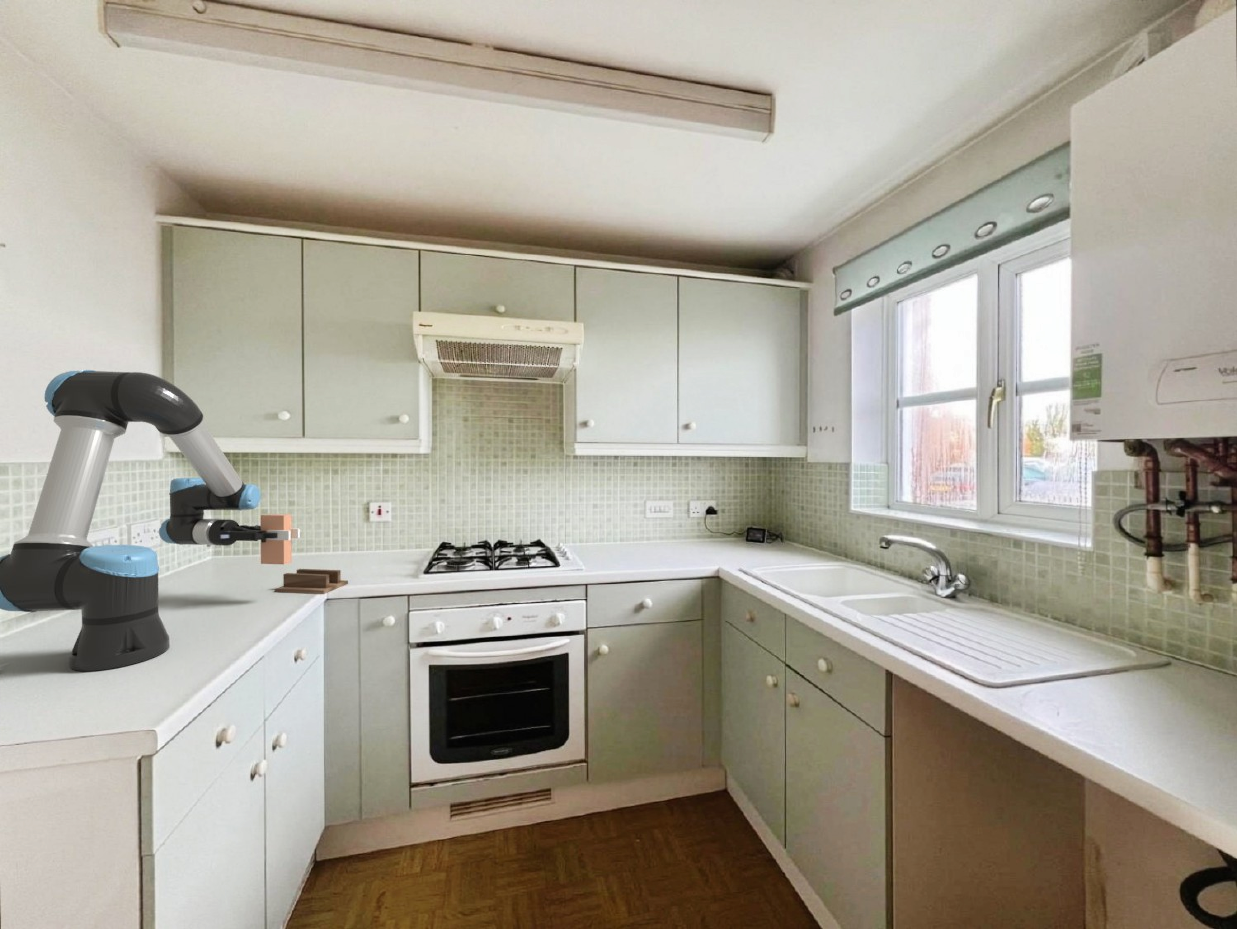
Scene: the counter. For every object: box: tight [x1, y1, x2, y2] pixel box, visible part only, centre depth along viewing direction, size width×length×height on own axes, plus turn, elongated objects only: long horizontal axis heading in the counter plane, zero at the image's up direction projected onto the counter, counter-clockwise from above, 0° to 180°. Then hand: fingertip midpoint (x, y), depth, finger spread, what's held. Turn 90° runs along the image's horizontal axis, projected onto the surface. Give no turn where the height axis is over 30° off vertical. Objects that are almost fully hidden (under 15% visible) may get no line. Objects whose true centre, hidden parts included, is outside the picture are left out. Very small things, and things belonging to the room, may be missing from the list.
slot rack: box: [274, 568, 349, 595], centre depth 160 cm, size 12×16×5 cm
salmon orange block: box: [260, 513, 293, 565], centre depth 145 cm, size 3×7×14 cm, turn 86°
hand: (294, 534), depth 144 cm, fingers closed on salmon orange block, 3 cm apart
